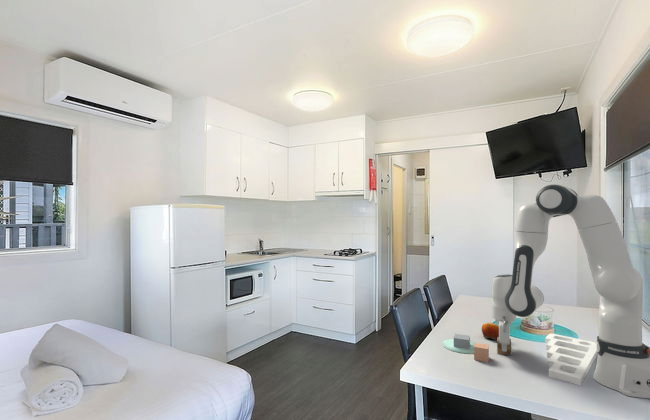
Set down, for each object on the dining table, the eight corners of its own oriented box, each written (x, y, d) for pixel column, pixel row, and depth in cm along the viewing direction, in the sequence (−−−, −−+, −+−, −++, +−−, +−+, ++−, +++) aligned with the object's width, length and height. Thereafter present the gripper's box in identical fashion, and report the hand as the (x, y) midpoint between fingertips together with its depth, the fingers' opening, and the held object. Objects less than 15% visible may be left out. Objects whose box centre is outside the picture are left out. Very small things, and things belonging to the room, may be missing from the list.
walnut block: (510, 351, 140) (510, 339, 140) (511, 355, 136) (511, 342, 136) (497, 349, 142) (497, 337, 143) (497, 353, 138) (497, 340, 138)
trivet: (580, 387, 112) (580, 378, 112) (519, 369, 124) (519, 362, 125) (600, 349, 143) (600, 343, 143) (550, 339, 156) (550, 333, 156)
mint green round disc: (483, 343, 149) (483, 334, 149) (481, 356, 135) (481, 346, 135) (444, 337, 156) (444, 328, 156) (439, 349, 142) (439, 339, 142)
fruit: (480, 337, 152) (481, 319, 156) (481, 341, 158) (482, 324, 162) (501, 340, 149) (501, 322, 152) (501, 344, 154) (501, 327, 158)
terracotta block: (488, 357, 134) (488, 344, 134) (488, 362, 130) (488, 349, 130) (474, 355, 136) (474, 342, 136) (474, 359, 132) (474, 346, 132)
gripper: (513, 322, 129) (514, 359, 128) (511, 309, 147) (512, 341, 147) (495, 319, 132) (495, 355, 131) (495, 307, 150) (495, 339, 149)
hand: (504, 348), depth 139 cm, fingers closed on walnut block, 5 cm apart
